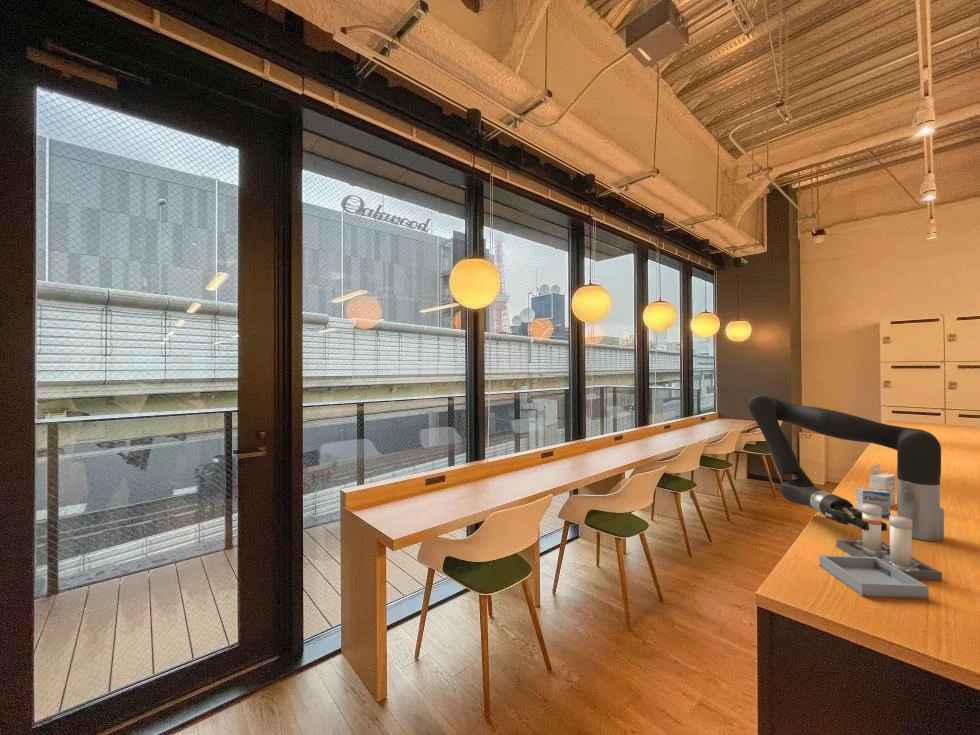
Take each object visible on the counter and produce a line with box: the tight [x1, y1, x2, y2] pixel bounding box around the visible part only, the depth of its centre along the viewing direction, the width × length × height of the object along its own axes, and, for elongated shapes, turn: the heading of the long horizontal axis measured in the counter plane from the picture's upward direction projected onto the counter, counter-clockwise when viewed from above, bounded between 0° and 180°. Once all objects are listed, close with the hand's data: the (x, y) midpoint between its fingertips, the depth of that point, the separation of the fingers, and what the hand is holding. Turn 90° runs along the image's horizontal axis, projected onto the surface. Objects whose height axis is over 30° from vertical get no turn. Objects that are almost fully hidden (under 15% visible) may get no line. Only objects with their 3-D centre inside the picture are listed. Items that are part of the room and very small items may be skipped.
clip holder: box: [835, 539, 943, 581], centre depth 109 cm, size 12×18×2 cm
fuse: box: [888, 514, 913, 569], centre depth 104 cm, size 4×4×14 cm
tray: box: [819, 554, 929, 600], centre depth 100 cm, size 14×14×3 cm
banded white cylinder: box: [861, 503, 883, 557], centre depth 113 cm, size 4×4×14 cm
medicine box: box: [856, 487, 891, 518], centre depth 143 cm, size 8×4×9 cm, turn 68°
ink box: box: [869, 464, 896, 508], centre depth 152 cm, size 9×5×15 cm, turn 117°
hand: (876, 527), depth 112 cm, fingers closed on banded white cylinder, 4 cm apart
